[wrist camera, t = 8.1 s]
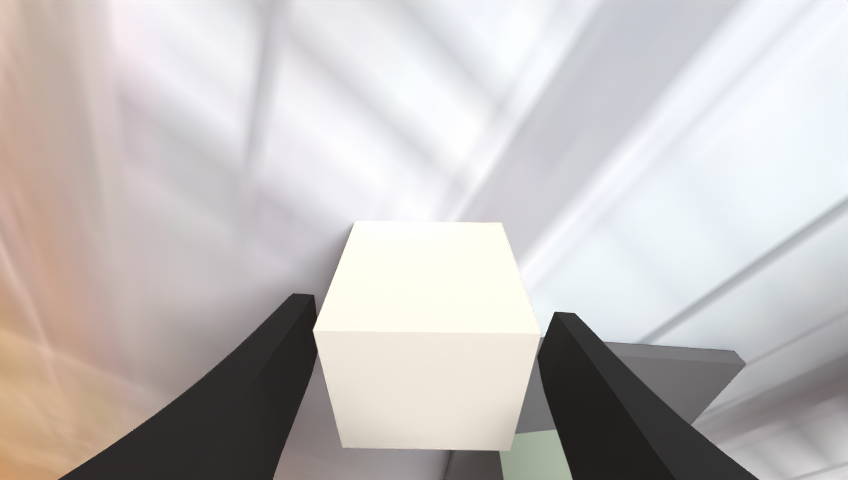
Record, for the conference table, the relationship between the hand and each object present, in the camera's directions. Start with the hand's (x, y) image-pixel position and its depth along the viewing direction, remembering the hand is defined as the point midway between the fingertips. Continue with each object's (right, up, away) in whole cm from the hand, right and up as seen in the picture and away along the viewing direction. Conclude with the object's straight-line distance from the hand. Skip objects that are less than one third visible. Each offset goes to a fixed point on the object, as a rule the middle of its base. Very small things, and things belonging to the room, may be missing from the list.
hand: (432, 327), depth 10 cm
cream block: (0, +1, +1) cm, 2 cm away
